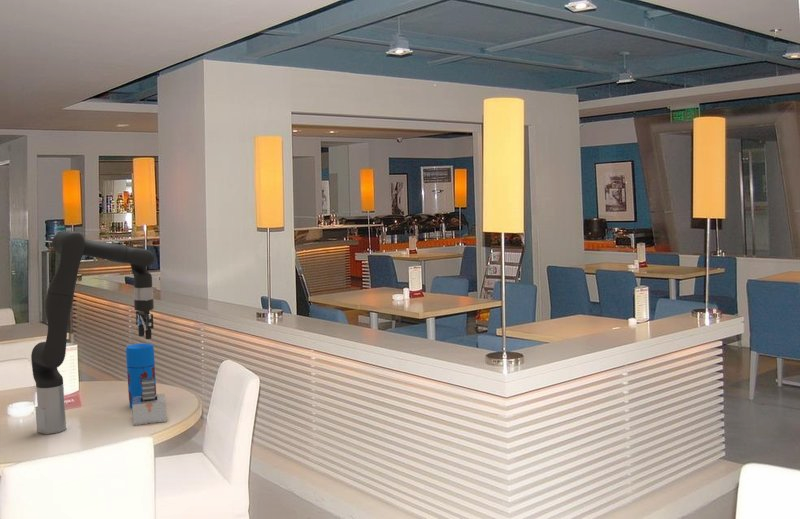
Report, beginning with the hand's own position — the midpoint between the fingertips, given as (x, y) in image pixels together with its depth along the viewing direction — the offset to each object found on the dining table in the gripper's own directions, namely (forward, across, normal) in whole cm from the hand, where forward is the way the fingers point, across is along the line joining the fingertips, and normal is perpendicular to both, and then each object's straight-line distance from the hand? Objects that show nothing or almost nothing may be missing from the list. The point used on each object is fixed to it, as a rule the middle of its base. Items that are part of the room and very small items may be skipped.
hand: (145, 337), depth 321 cm
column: (+29, +19, -6) cm, 35 cm away
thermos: (+29, -2, -1) cm, 29 cm away
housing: (+29, +19, -6) cm, 35 cm away
